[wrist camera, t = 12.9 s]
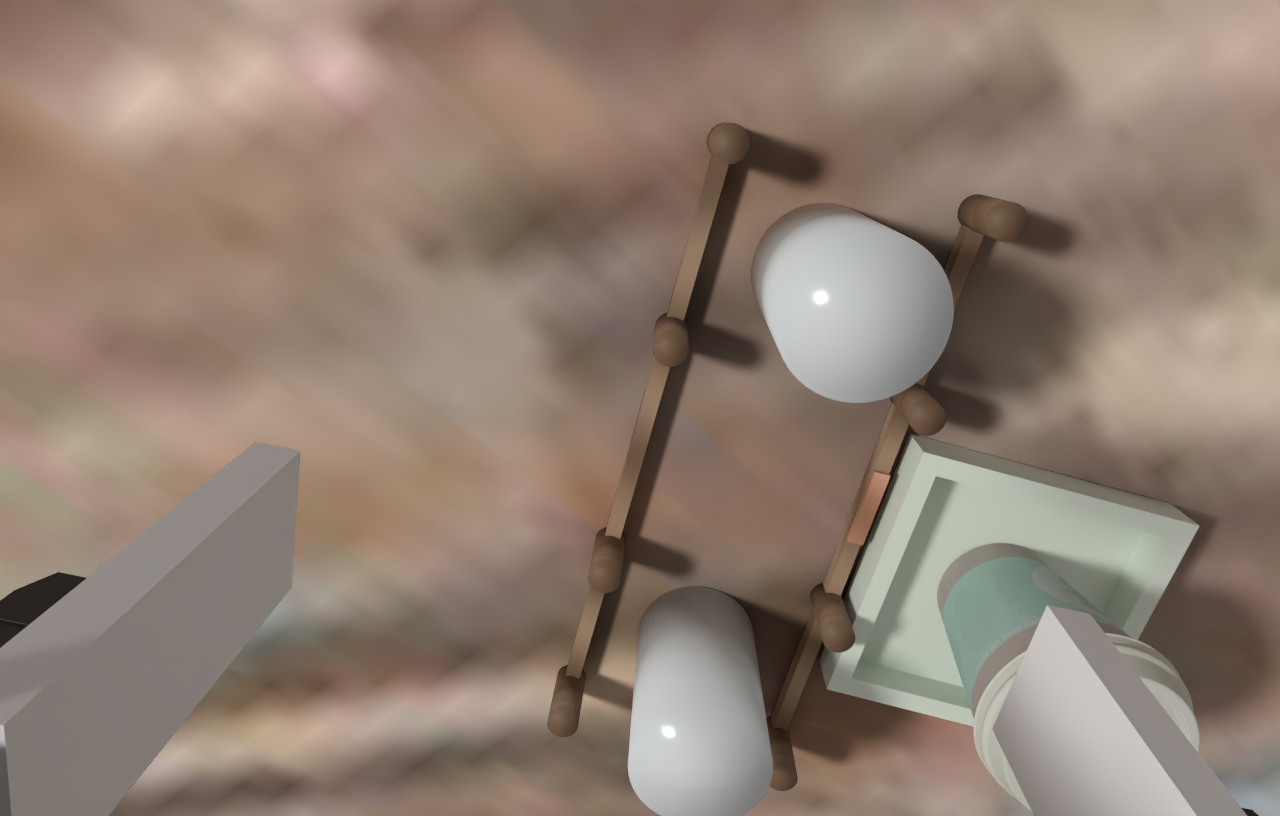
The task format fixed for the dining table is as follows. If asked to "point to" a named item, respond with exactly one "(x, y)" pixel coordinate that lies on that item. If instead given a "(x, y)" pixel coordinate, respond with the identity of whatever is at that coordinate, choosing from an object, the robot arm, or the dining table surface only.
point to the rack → (906, 409)
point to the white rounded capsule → (698, 708)
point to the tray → (975, 516)
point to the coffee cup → (1028, 641)
